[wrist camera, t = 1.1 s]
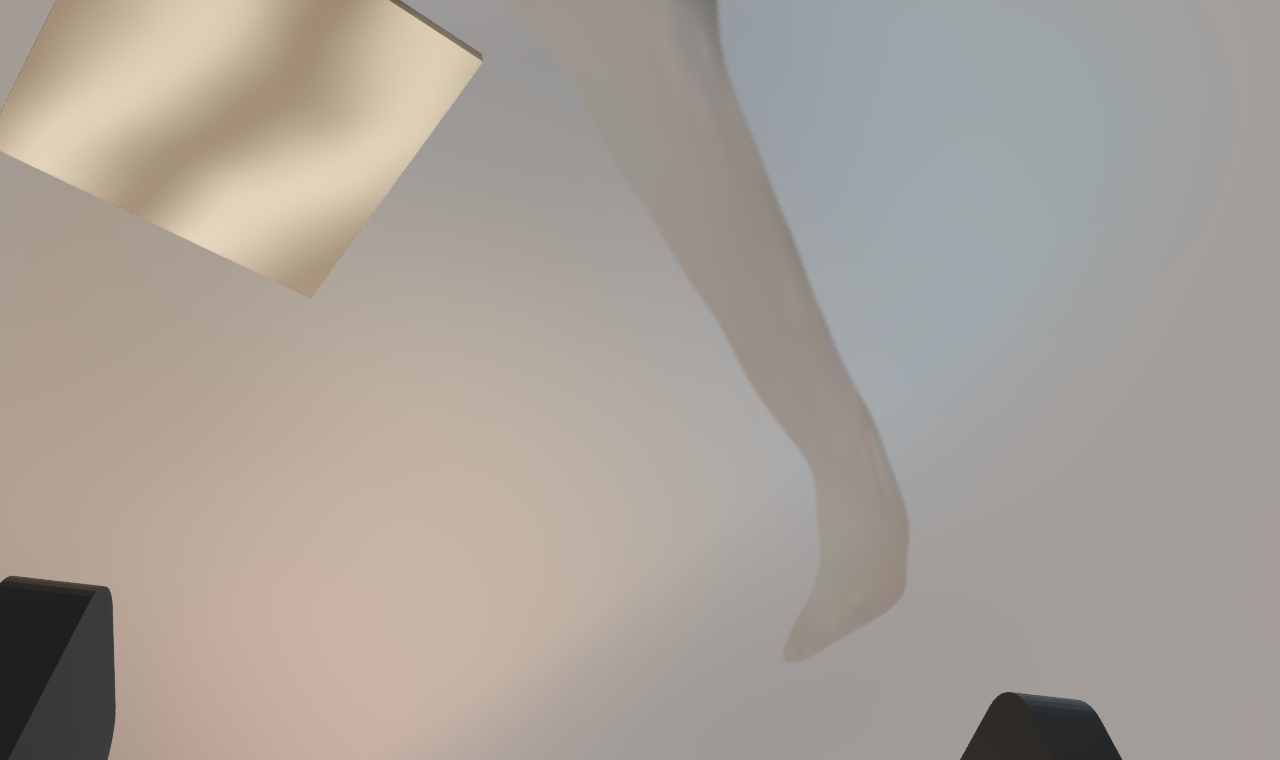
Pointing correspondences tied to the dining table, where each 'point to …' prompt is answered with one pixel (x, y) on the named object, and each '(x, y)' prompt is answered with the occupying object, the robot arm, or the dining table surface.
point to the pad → (237, 116)
